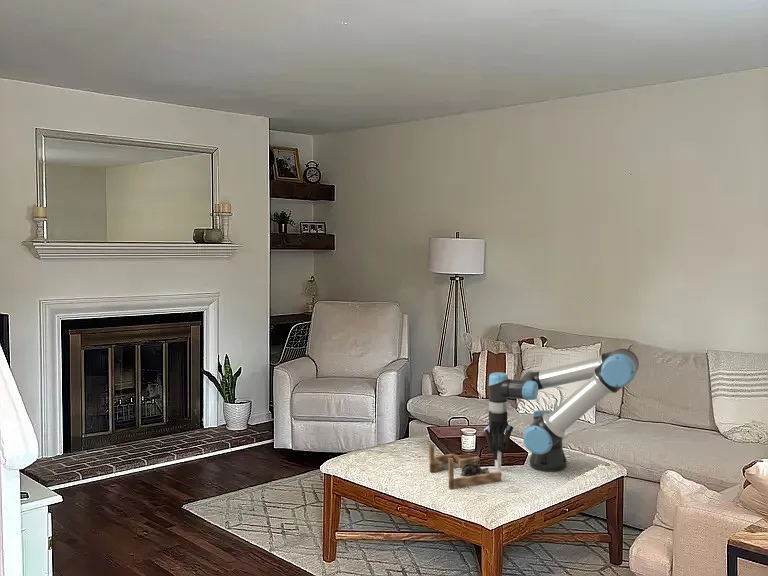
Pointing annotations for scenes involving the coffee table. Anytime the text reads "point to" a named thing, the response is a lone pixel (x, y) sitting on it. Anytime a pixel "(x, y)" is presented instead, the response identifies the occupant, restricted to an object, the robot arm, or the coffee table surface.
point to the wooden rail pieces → (463, 481)
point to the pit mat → (445, 466)
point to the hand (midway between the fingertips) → (498, 466)
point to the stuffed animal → (473, 469)
